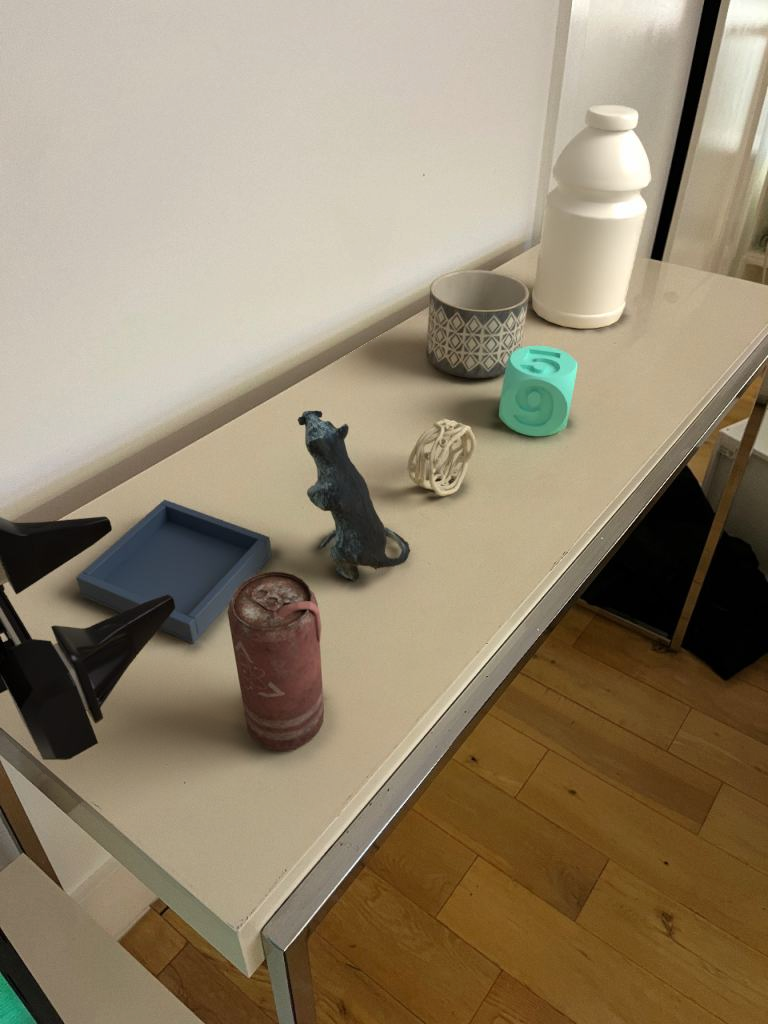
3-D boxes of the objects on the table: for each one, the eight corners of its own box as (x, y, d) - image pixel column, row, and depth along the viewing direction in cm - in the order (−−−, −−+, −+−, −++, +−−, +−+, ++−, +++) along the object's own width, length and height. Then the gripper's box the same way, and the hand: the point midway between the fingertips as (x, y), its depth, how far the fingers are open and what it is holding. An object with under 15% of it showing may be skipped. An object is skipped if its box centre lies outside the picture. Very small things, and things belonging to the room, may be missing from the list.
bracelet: (476, 476, 87) (483, 415, 81) (434, 511, 82) (439, 449, 77) (447, 462, 88) (452, 402, 83) (404, 496, 84) (407, 434, 79)
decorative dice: (568, 407, 98) (580, 350, 93) (563, 442, 92) (574, 383, 87) (505, 397, 99) (513, 340, 94) (496, 431, 93) (503, 372, 88)
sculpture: (343, 511, 82) (340, 386, 72) (425, 556, 76) (433, 429, 67) (287, 552, 77) (275, 425, 67) (370, 604, 71) (370, 474, 62)
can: (324, 755, 59) (317, 632, 50) (241, 753, 59) (218, 631, 50) (330, 690, 64) (324, 567, 55) (252, 688, 64) (234, 565, 55)
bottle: (523, 322, 116) (552, 117, 98) (536, 285, 126) (565, 93, 108) (619, 336, 113) (667, 127, 95) (625, 297, 123) (670, 102, 105)
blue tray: (193, 644, 67) (189, 624, 66) (81, 596, 72) (75, 577, 70) (271, 555, 76) (269, 536, 75) (168, 517, 80) (164, 499, 79)
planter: (506, 393, 100) (516, 318, 94) (413, 374, 104) (417, 301, 97) (527, 349, 109) (538, 278, 103) (441, 333, 113) (446, 263, 106)
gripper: (-154, 702, 32) (191, 543, 39) (-228, 480, 43) (53, 390, 50) (-58, 838, 39) (218, 682, 46) (-143, 618, 50) (92, 521, 57)
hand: (139, 559), depth 50 cm, fingers open, 9 cm apart
